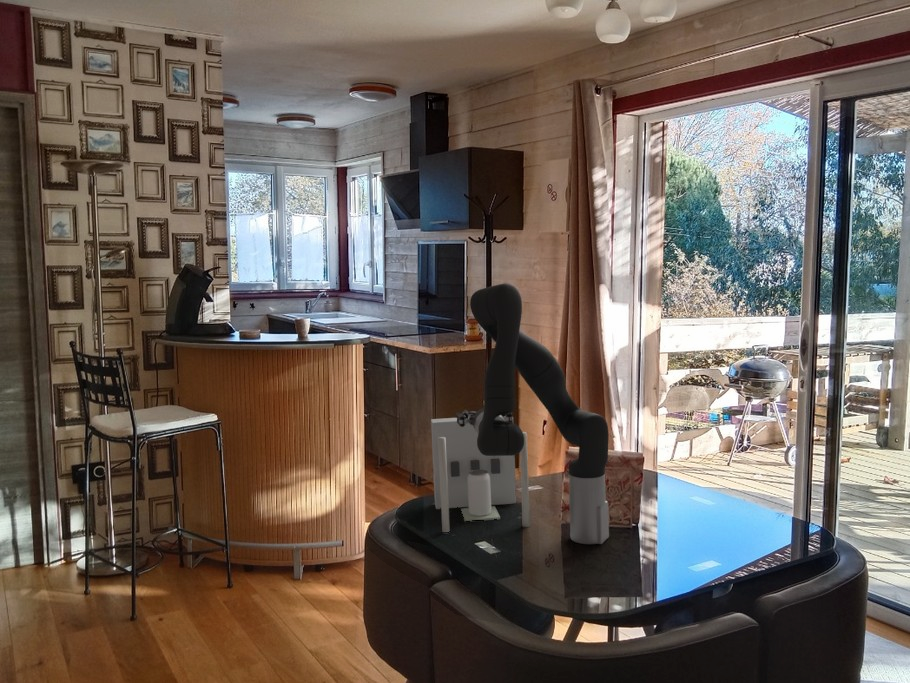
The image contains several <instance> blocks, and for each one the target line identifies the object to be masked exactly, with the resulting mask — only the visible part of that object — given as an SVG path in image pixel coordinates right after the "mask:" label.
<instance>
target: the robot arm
mask: <svg viewBox="0 0 910 683" xmlns="http://www.w3.org/2000/svg"><path fill="white" fill-rule="evenodd" d="M469 301H470V303H469V306H470V311H471V314H472V316H473V318H474V319H475V321H476V322H477V323H478V325H479V326H480V328H482V329H483V330H484V331H485V333H486V334H487V335H489V337H490V338H491V339H492V340H493V341H494V342H495V345H494V349H493V351H492V353H491V357H490V359H489V362H488V363H487V364H488V365H487V367H486V370H485V373H484V379H483V380H484V381H483V382H484V384H483V389H484V390H483V392H484V393H483V394H484V396H483V397H484V398H483V399H484V401H483V402H484V404H483V405H484V406H483V407H482V408H480V409H478V410H477V411H474V410H472V411H469V410H467V409H464V410H463V411H461V412H456V418H457V423H458V424H459V426H461V427H463V426H465V425H466V423H469V424H470V425H473V427H474V429H475V431H476V433H477V434H478V438H477V446H478V449H479V451H480V452H481V453H482V454H483V455H485V456H513V455H515V456H516V455H518V454H520V451H521V450H522V448H523V446H524V435H523V432H524V431H523V430H522V428H521V427H520V426H519V425H518V424H516V423H514V417H513V412H514V411H515V409H516V388H515V386H516V385H515V371H516V370H517V371H518V373H519V375H520V376H521V377H522V379H523V380H524V382H526V384H527V385H528V387H529V388H530V390H532V392H533V393H534V394H535V396H536V397H537V399H539V401H540V402H541V404H542V406H544V408H545V409H546V410H547V412H548V413H549V415H550V416H551V419H552V420H553V422H554V424H555V425H556V427H557V429H558V431H559V432H560V434H561V435H562V437H563V438H564V440H565V441H566V442H567V443H568V444H571V445H573V446H575V447H578V458H577V459H572V460H571V461H570V462H569V464H568V496H569V497H568V498H569V501H568V503H569V533H570V534H569V536H570V540H572V542H575V543H578V544H583V545H596V544H597V545H603V543H605V541H607V539H608V538H609V537H610V527H609V526H610V525H609V523H610V522H609V521H610V519H609V501H608V500H606V498H607V496H606V479H605V467H606V464H607V463H608V462H609V461H608V460H609V438H610V437H609V435H610V434H609V426H608V422H607V420H606V419H605V417H604V416H602V415H601V414H598V413H595V412H590V411H588V410H587V411H586V410H583V409H581V408H580V406H578V404H577V403H576V402H575V401H574V400H573V399H572V397H571V396H570V394H569V393H568V389H567V385H566V384H567V383H566V376H565V371H564V370H563V368H562V366H561V365H560V363H559V362H558V360H557V359H556V357H555V356H554V354H553V353H552V352H551V351H550V350H549V349H548V348H547V347H546V346H545V345H544V344H542V343H541V342H539V341H537V340H536V339H535V338H533V337H531V336H529V335H527V334H526V333H524V332H523V331H521V330H520V328H521V323H522V322H521V320H522V311H523V303H522V296H521V294H520V292H519V289H518V288H517V287H516V286H515V285H513V284H511V283H508V282H506V283H499V284H496V285H491V286H487V287H484V288H481V289H478V290H476V291H474V293H472V295H471V297H470V300H469ZM515 369H516V370H515ZM468 417H469V419H468Z"/></svg>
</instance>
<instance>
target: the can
mask: <svg viewBox="0 0 910 683" xmlns="http://www.w3.org/2000/svg"><path fill="white" fill-rule="evenodd" d="M468 504H469V507H468V508H469V513H470V514H471V515H473V516H486V515H489V514H490V513H491V506H492V505H491V489H490V476H489V474H488V471H487V470H472V471H470V472H469V475H468Z"/></svg>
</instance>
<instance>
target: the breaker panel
mask: <svg viewBox="0 0 910 683" xmlns="http://www.w3.org/2000/svg"><path fill="white" fill-rule="evenodd" d="M468 419H469V416H468ZM430 426H431V450H432V470H433V491H434V506H435V510H441V509H440V508H441V491H440V469H439V447H438V438H439V437H445V438H446V459H447V481H448V504H449V509H456V508H457V507H458V508H469V504H468V475H469V472H470V471H472V470H487V471H488V474H489V476H490V489H491V506H496V505H507V504H508V505H509V504H510V505H513V504H517V485H516V458H515V456H516V455H513V456H485V455H483V454H482V453H481V452H480V451H479V449H478V446H477V438H478V434H477V433H476V431H475V429H474V427H473V425H470V424H469V423H466V425H465V426H463V427H461V426H459V424H458V423H457V417H447V418H434V419H433V418H431V419H430ZM458 508H457V509H458Z"/></svg>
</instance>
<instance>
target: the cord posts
mask: <svg viewBox="0 0 910 683" xmlns="http://www.w3.org/2000/svg"><path fill="white" fill-rule="evenodd" d="M522 432H523V435H524V446H523V448H522V450H521V451H520V452H519V461H520V462H519V464H520V465H519V466H520V467H519V468H520V490H521V491H520V492H521V495H520V496H521V516H522V517H521V520H522V522H521V523H522V527H523V528H529V527H531V522H530V521H531V520H530V519H531V518H530V495H529V494H530V493H529V492H530V490H529V461H528V460H529V459H528V434H527V431H522ZM438 447H439V469H440V491H441V509H440V510H441V512H440V513H441V533H442V532H449V531H450V530H451V529H450V528H451V527H450V526H451V525H450V508H449V504H448V481H447V459H446V438H445V437H439V438H438ZM449 533H450V532H449Z"/></svg>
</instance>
